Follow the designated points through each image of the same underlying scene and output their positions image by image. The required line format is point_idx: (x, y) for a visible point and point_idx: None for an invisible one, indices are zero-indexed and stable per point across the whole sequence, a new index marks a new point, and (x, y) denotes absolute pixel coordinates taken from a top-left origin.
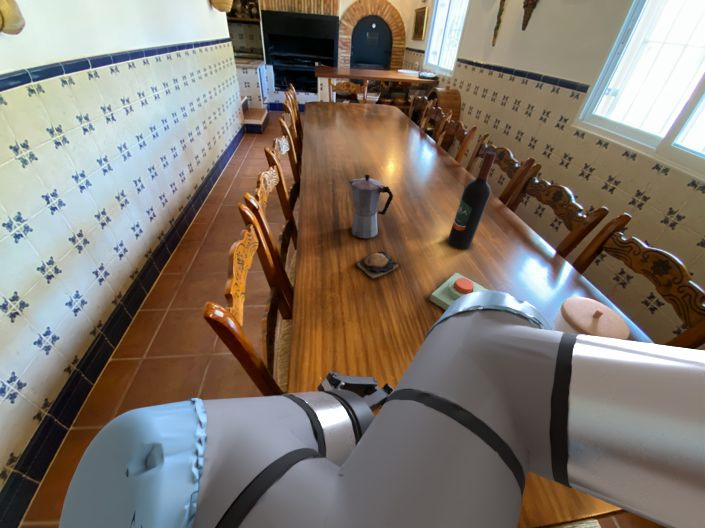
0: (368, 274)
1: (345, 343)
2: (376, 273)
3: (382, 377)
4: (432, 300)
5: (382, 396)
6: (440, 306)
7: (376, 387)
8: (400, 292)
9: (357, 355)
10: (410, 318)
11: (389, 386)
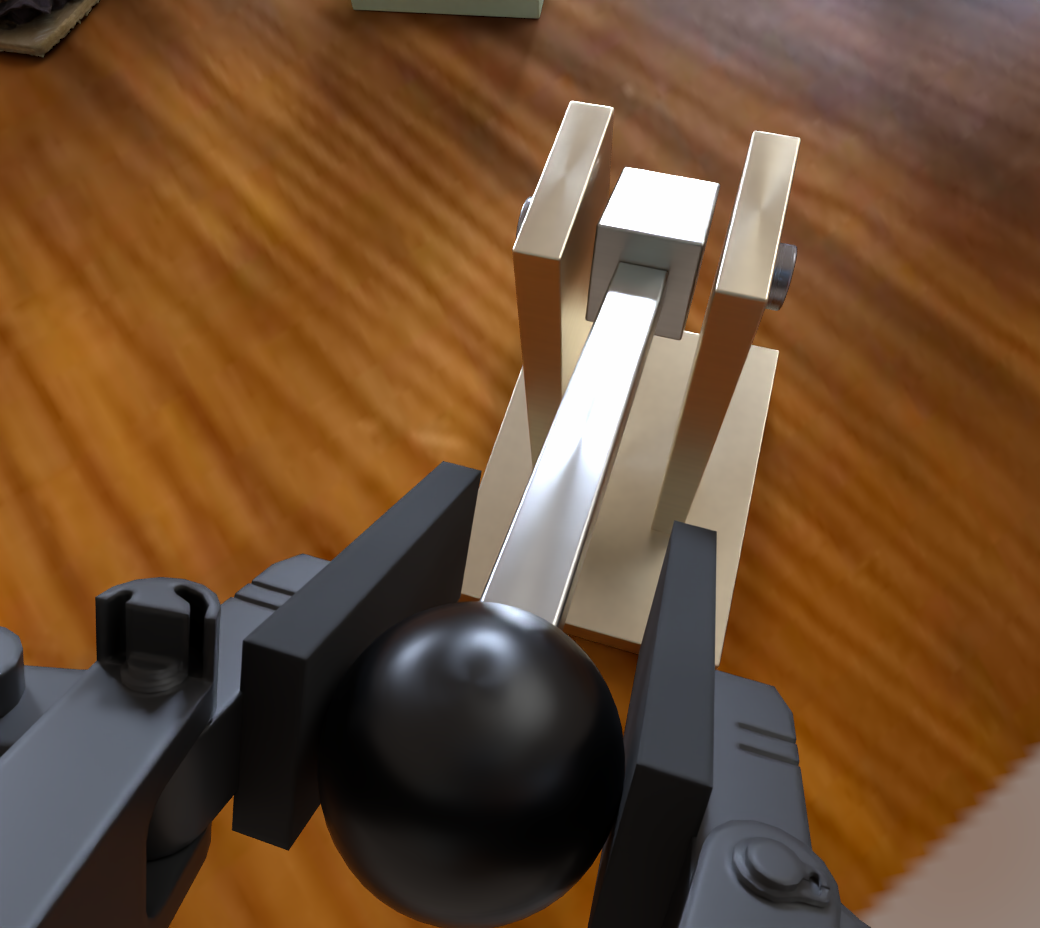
0: (9, 46)
1: (60, 419)
2: (45, 21)
3: (322, 456)
4: (365, 3)
5: (36, 866)
6: (412, 10)
7: (30, 705)
8: (208, 47)
9: (150, 435)
10: (311, 130)
11: (155, 604)
